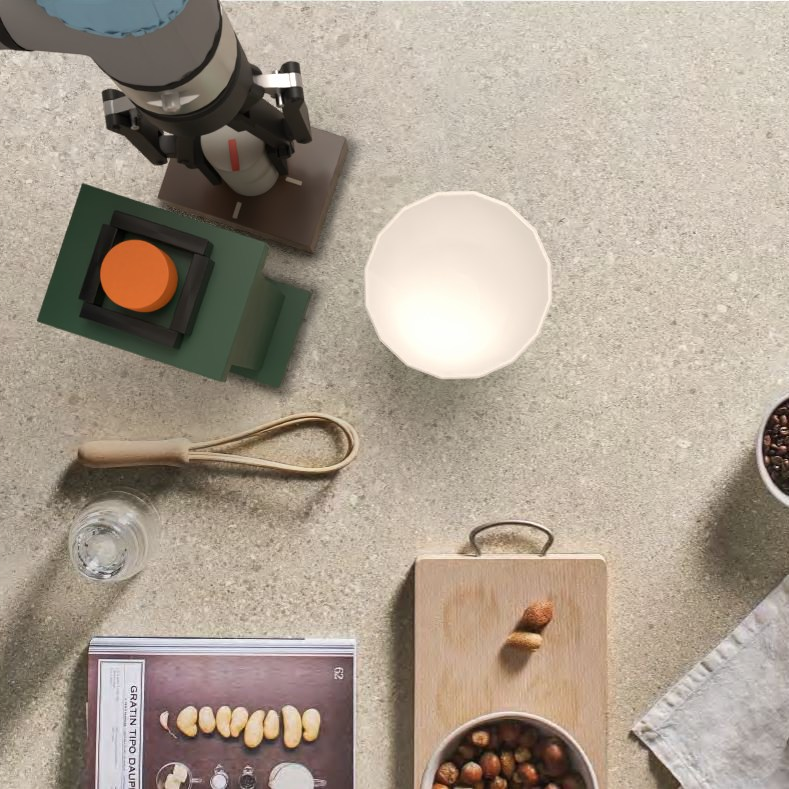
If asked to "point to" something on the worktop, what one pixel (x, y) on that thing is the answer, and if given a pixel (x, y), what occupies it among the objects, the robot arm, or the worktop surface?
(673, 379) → the worktop surface
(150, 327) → the control post
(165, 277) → the button
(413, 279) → the cup
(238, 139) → the dial
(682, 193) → the worktop surface
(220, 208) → the dial panel
